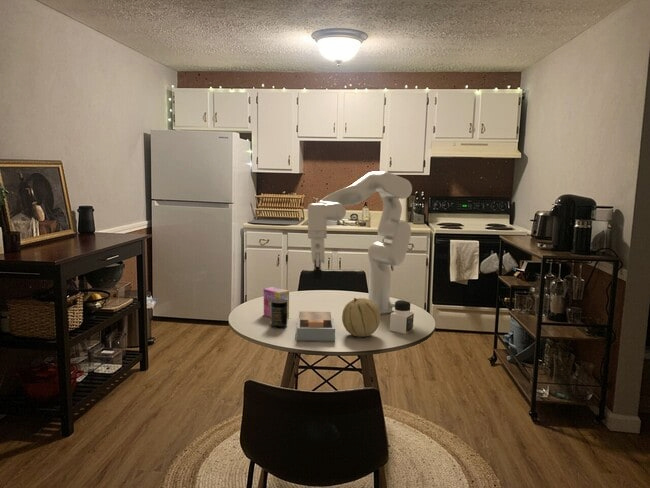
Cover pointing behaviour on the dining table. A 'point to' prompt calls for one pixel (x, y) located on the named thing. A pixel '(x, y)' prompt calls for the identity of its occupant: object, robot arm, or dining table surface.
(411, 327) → the medicine bottle
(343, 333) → the dining table surface
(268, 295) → the box
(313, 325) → the tile front
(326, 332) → the tray
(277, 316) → the supplement container
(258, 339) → the dining table surface
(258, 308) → the dining table surface
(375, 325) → the cantaloupe
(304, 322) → the brown flat block
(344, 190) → the robot arm
